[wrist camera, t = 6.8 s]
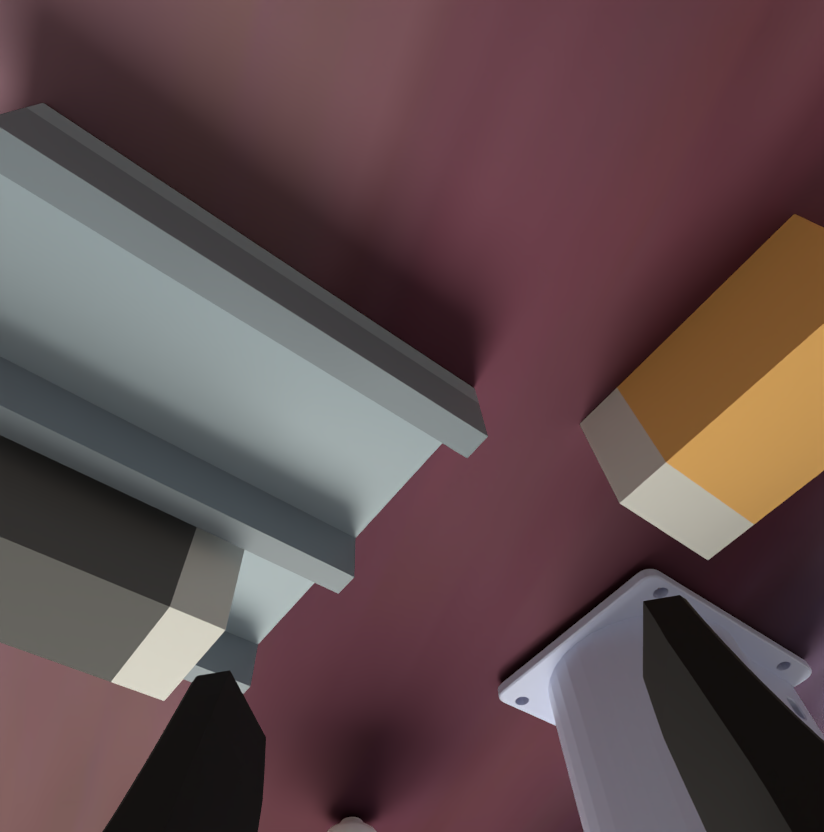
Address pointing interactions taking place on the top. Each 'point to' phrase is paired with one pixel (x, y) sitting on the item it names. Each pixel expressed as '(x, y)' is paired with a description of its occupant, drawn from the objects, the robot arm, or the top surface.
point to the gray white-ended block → (106, 577)
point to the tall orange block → (726, 402)
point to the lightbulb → (352, 826)
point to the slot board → (203, 373)
